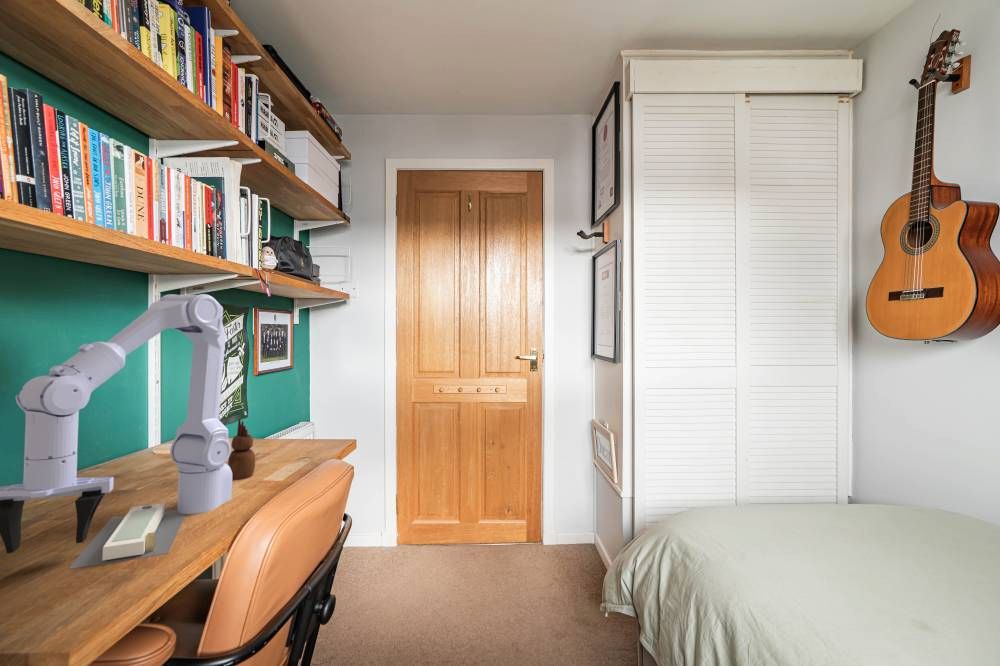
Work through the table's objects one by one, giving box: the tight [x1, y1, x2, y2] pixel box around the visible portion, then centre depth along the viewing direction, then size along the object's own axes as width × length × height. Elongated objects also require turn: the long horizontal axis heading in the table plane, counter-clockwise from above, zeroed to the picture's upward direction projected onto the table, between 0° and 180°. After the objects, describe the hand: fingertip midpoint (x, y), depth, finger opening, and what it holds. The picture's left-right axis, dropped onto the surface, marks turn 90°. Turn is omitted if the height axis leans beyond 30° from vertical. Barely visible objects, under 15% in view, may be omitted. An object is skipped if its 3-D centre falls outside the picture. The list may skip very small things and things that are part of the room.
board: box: [68, 508, 187, 570], centre depth 78 cm, size 21×12×4 cm, turn 27°
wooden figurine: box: [227, 418, 256, 480], centre depth 112 cm, size 7×6×15 cm
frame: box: [102, 502, 166, 561], centre depth 78 cm, size 18×5×2 cm, turn 28°
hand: (48, 545), depth 68 cm, fingers open, 7 cm apart
